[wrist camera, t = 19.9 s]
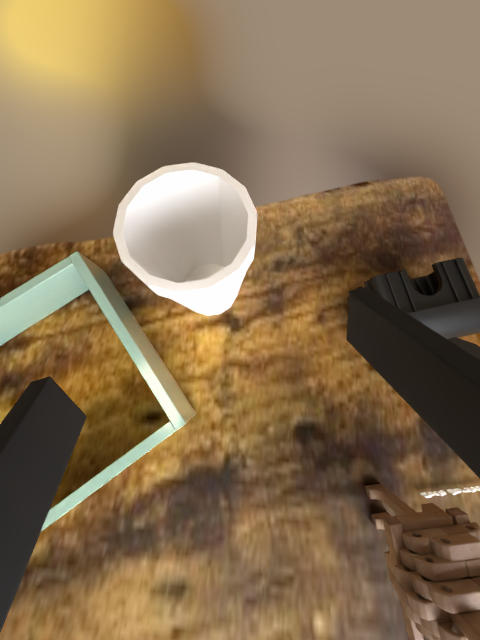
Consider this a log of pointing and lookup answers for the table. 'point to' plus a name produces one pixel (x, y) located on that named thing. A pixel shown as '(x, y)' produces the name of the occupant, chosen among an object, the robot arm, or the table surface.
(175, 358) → the table surface
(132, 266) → the foam cup
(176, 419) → the square frame
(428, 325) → the end cap
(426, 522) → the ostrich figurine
